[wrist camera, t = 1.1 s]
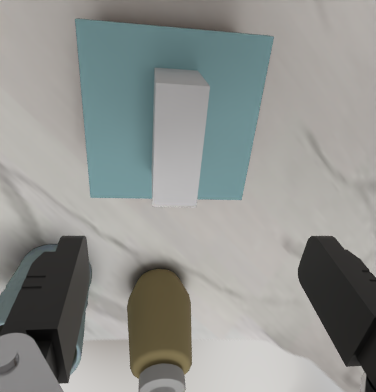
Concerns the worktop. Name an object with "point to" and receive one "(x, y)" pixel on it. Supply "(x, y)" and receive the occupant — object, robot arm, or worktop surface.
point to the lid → (169, 110)
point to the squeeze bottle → (159, 332)
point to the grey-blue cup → (5, 301)
